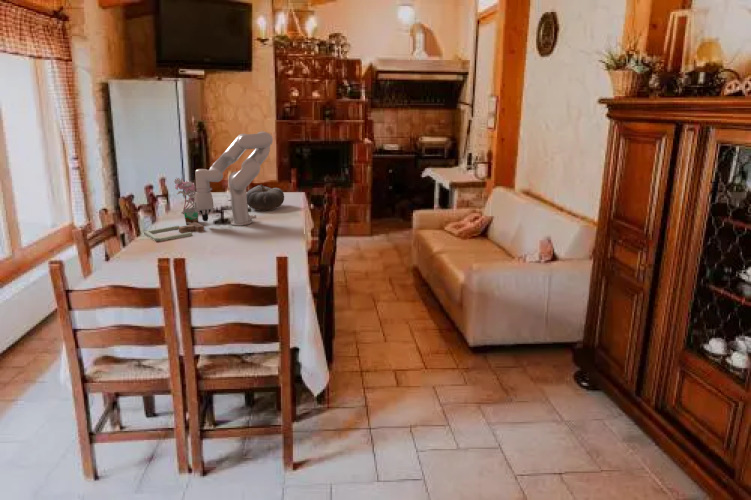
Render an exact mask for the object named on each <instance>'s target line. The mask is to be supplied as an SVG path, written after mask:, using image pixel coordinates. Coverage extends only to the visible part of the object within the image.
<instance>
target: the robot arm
mask: <svg viewBox="0 0 751 500" xmlns="http://www.w3.org/2000/svg"><path fill="white" fill-rule="evenodd" d="M273 141H274V139H273V136H272V134H271V133H269V132H266V131H264V130H262V131H258V132H257V133H250V134H247V133H240V134H239V135H238V136H236V137H235V139H234V140H233V141H232V143H231V144H230V145H229V146H228V147H227V148H226V149H225V151H224V152H223V153H222V154H221V155H220V156H219V157H218V158H217V159H216V160H215V162H213V163H212V165H210V167H209V169H206V168H198V169H196V170H194V171H195V175H194V176H195V190H196V193H195V209H196V212H198V213H199V214H201V218H202V219H201V220H202V221H203V222H208V220H209V214H210V212H212V211H214V209H215V208H214V207H215V205H214V198H213V195H212V191H213V187H210V185H211V184H210V182H211V183H212V182H214V183H219V182H221V181H222V180H223V178H224V174H223V173H224V172H225V170H226V169H228V167H230V166H231V165H233V164H235V163H236V162H237V161H238V160H239V159H240V158H241V156H242V155H243V154H244V153H245V152H246V150H252V152H251V153H250V154H249V155H248V157H246V159H244V160H243V162H242V163H241V166H240V167H241V168H240V169H239V170H238V171H233V172H231V173H230V174H229V175H228V179H227V180H228V187H229V193H230V202H231V203H230V204H231V214H232V220H231V221H230V225H231V226H235V227H236V226H239V227H240V226H248V225H251V224H252V222H253V220H252V219H257V215H256V214H255V215H252V214H249V205H248V204H247V187H248V186H249V185H250V184H251V183H252V182H253V181H254V180H255V179H256V177H257V176H258V175H259V174H260V172H261V166H262V164H263V163H264V162H265V160H266V159H267V158H268V157H269V154H270V151H271V145H272V144H273ZM253 149H254V150H253Z"/></svg>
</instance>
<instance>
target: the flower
mask: <svg viewBox="0 0 751 500" xmlns="http://www.w3.org/2000/svg"><path fill="white" fill-rule="evenodd" d="M173 182H174V184H175V187H174V188H175V189H176V190H177V191H178V192H177V193H176V196H177V195H179V194H181V195H182V197H183V196H184V205H183V207H181V214H184V213H183V209H188V208H191V207H193V205H195V193H197V191H196V185H195V183H194V182H192V181H191V180H190V181H187V180H186V181H184V179H183V178H182V177H181V178H180V177H177V176H176V177H175V179H174V181H173ZM187 197H188V199H187Z"/></svg>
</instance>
